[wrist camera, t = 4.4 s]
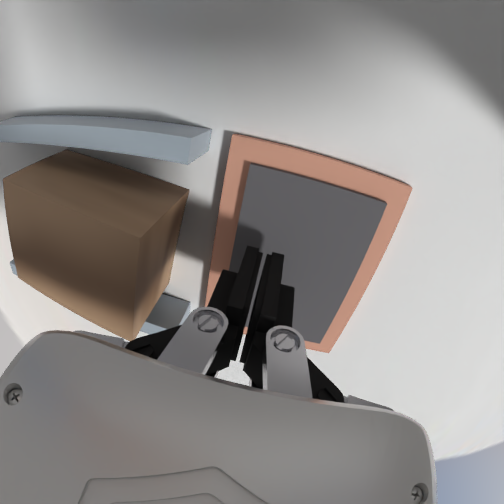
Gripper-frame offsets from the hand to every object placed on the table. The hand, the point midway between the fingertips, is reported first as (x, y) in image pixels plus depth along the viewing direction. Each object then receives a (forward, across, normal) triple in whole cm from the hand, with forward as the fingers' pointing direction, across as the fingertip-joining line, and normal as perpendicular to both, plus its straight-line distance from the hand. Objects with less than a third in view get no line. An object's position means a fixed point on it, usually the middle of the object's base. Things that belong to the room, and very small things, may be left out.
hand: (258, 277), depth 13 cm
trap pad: (+2, -2, 0) cm, 2 cm away
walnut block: (+2, +8, 0) cm, 9 cm away
